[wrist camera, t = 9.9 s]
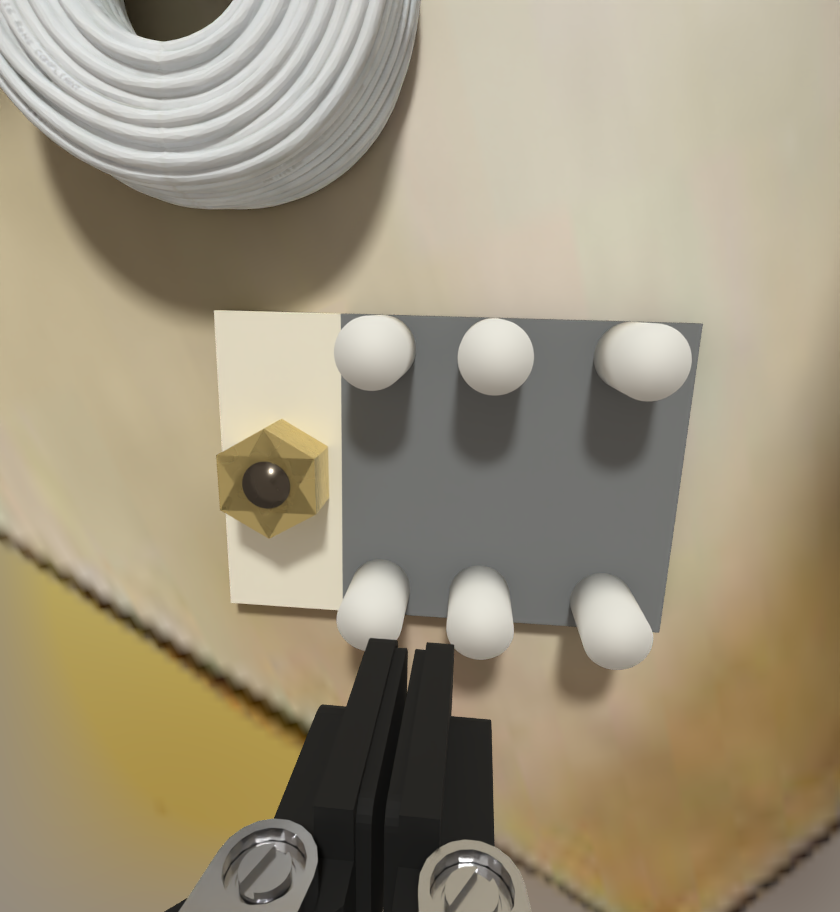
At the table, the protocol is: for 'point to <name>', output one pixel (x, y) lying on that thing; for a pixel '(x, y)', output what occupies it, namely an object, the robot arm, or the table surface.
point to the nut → (274, 478)
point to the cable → (211, 93)
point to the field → (468, 471)
